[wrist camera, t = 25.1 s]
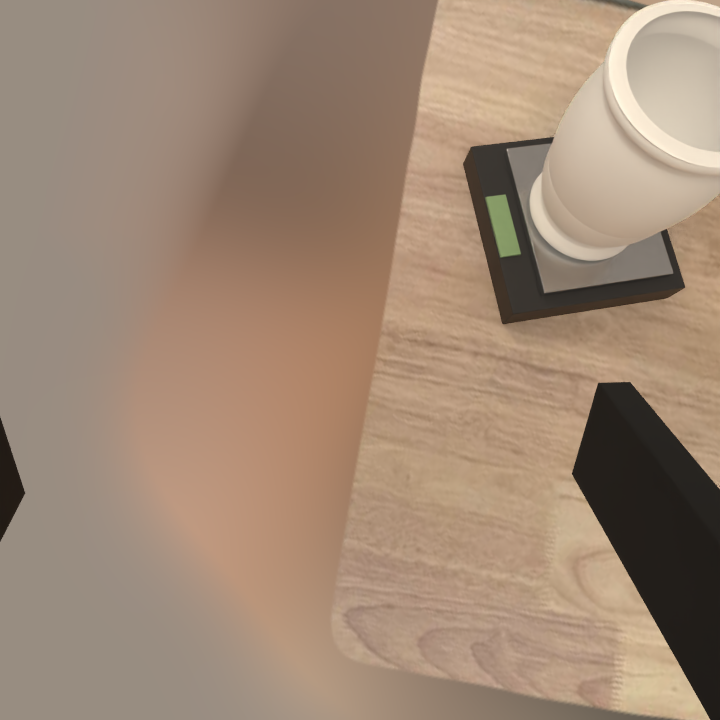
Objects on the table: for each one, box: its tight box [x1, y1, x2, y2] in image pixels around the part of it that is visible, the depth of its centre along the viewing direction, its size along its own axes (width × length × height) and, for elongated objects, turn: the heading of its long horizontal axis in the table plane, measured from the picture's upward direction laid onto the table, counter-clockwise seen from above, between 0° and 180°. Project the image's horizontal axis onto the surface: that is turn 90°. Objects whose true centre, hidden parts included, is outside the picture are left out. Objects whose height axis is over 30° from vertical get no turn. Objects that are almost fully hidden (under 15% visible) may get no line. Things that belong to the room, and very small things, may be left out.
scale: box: [463, 137, 685, 324], centre depth 49 cm, size 14×14×3 cm
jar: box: [530, 0, 720, 261], centre depth 40 cm, size 11×10×15 cm
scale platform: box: [504, 143, 673, 296], centre depth 48 cm, size 12×10×1 cm
